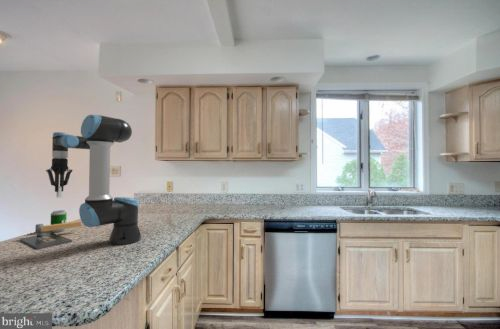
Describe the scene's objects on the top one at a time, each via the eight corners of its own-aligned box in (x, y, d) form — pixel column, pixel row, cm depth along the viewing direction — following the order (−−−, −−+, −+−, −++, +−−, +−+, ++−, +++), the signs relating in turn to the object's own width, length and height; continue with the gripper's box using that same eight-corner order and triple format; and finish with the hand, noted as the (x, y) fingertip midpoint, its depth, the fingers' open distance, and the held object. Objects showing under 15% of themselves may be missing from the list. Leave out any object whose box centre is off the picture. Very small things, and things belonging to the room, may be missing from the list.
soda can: (57, 233, 142) (57, 212, 142) (47, 232, 144) (47, 212, 144) (69, 230, 150) (69, 210, 150) (59, 229, 151) (59, 209, 151)
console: (71, 241, 127) (72, 235, 127) (37, 249, 115) (38, 242, 115) (52, 234, 139) (52, 229, 139) (20, 240, 127) (20, 234, 127)
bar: (79, 225, 146) (79, 219, 146) (80, 226, 144) (80, 220, 144) (35, 231, 132) (35, 224, 132) (35, 233, 130) (35, 225, 130)
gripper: (69, 158, 154) (68, 195, 154) (44, 157, 143) (42, 197, 143) (75, 158, 151) (74, 196, 150) (49, 157, 139) (48, 198, 139)
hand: (58, 197), depth 147 cm, fingers closed
